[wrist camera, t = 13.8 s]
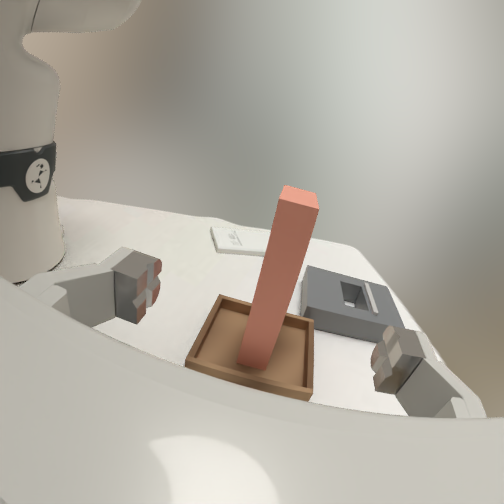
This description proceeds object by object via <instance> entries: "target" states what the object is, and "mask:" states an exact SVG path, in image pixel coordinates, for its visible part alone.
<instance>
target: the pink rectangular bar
mask: <svg viewBox="0 0 504 504" xmlns="http://www.w3.org/2000/svg"><path fill="white" fill-rule="evenodd" d="M318 211H319V206H318V201H317V196H316V193H313V192H309V191H305V190H302V189H298V188H295V187H291V186H287V185H284V188H283V190H282V192H281V195H280V198H279V201H278V205H277V210H276V213H275V217H274V221H273V225H272V229H271V233H270V237H269V241H268V245H267V248H266V252H265V256H264V260H263V264H262V268H261V272H260V276H259V279H258V283H257V287H256V291H255V295H254V298H253V302H252V306H251V310H250V314H249V317H248V321H247V325H246V329H245V332H244V336H243V340H242V344H241V347H240V351H239V355H238V359H237V362H236V363H238V364H242V365H246V366H249V367H253V368H257V369H261V370H264V371H265V370H266V368H267V365H268V362H269V360H270V357H271V354H272V351H273V349H274V346H275V343H276V340H277V338H278V335H279V332H280V329H281V326H282V323H283V321H284V318H285V315H286V312H287V309H288V306H289V303H290V300H291V297H292V294H293V291H294V288H295V285H296V282H297V279H298V276H299V273H300V270H301V267H302V264H303V261H304V257H305V254H306V251H307V248H308V245H309V241H310V238H311V235H312V232H313V228H314V225H315V222H316V218H317V215H318Z"/></svg>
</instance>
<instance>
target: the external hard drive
mask: <svg viewBox="0 0 504 504" xmlns="http://www.w3.org/2000/svg"><path fill="white" fill-rule="evenodd" d="M210 232H211V235H212V238H213V239H214V245H215V248H216V251H217V253H225V254H237V255H250V256H263V257H264V256H265V252H266V248H267V245H268V241H269V237H270V233H271V232H262V231H252V230H242V229H231V228H220V227H211V229H210Z"/></svg>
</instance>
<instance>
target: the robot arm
mask: <svg viewBox="0 0 504 504" xmlns="http://www.w3.org/2000/svg"><path fill="white" fill-rule="evenodd" d="M140 2H141V0H0V504H504V417H496V418H487V416H486V413H485V411H484V408H483V406H482V403H481V401H480V399H479V397H478V396H477V395H476V394H474V392H473V391H472V390H470V389H469V388H468V387H467V386H466V385H465V384H464V383H463V382H462V381H461V380H460V379H459V378H458V377H457V376H456V375H455V374H454V373H453V372H452V371H451V370H449V369H448V368H447V367H446V366H445V365H444V364H443V363H442V362H441V361H438V360H437V358H436V355H435V353H434V351H433V349H432V346H431V344H430V342H429V340H428V337H427V335H426V334H425V333H424V332H419V331H414V330H409V329H404V328H399V327H395V326H390V325H389V326H388V327H387V328H386V330H385V331H384V333H383V340H382V341H381V342H379V343H377V345H376V346H375V348H374V350H373V353H372V356H371V368H372V370H373V371H374V372H375V373H376V374H375V375H374V377H373V380H374V386H375V391H377V392H382V393H388V394H394V395H395V396H396V398H397V399H398V401H399V402H400V404H401V405H402V407H403V408H404V410H405V411H406V413H407V414H408V416H400V415H390V414H381V413H373V412H365V411H358V410H351V409H345V408H339V407H333V406H327V405H322V404H317V403H312V402H307V401H302V400H297V399H293V398H288V397H284V396H280V395H276V394H272V393H268V392H264V391H260V390H256V389H252V388H249V387H245V386H242V385H238V384H235V383H231V382H228V381H225V380H222V379H218V378H215V377H212V376H209V375H206V374H203V373H200V372H197V371H194V370H191V369H188V368H186V367H183V366H180V365H177V364H175V363H172V362H169V361H167V360H164V359H161V358H159V357H156V356H154V355H151V354H149V353H146V352H144V351H141V350H139V349H137V348H134V347H132V346H130V345H127V344H125V343H123V342H121V341H118V340H116V339H114V338H112V337H109V336H107V335H105V334H103V333H101V332H99V331H97V330H95V329H93V328H92V327H94V326H96V325H99V324H101V323H103V322H106V321H108V320H111V319H113V318H115V316H116V317H119V318H121V319H124V320H126V321H129V322H131V323H134V324H138V323H139V321H140V320H141V319H142V318H143V316H144V315H145V314H146V308H148V307H151V306H152V305H153V304H154V303H155V301H156V299H157V297H158V294H159V290H160V280H159V278H158V276H157V275H158V274H159V273H160V272H161V268H162V262H161V260H160V259H158V258H155V257H152V256H149V255H146V254H144V253H141V252H138V251H135V250H133V249H129V248H126V247H121V248H120V249H118V250H117V251H116V252H114V253H113V254H111V255H110V256H109V257H107V258H106V259H105V260H103V261H102V262H101V263H99V264H95V263H93V264H87V265H82V266H76V267H71V268H65V269H60V270H54V271H49V272H47V271H48V270H50V269H52V268H53V267H54V266H55V265H57V264H58V263H59V262H60V260H61V259H62V258H63V256H64V254H65V245H64V242H63V238H62V237H63V234H64V230H63V225H61V224H60V222H59V213H58V205H57V195H56V187H55V186H56V185H55V182H54V180H53V178H52V176H53V172H54V171H55V161H56V155H57V153H56V143H55V142H54V141H53V139H54V128H55V119H56V112H57V104H58V98H59V92H60V80H59V77H58V74H57V73H56V71H55V70H54V69H53V68H52V67H51V66H50V65H49V64H47V63H46V62H44V61H43V60H41V59H39V58H37V57H35V56H33V55H32V54H30V53H28V52H27V51H26V50H25V49H24V47H23V45H22V39H23V37H24V36H25V35H26V34H28V33H31V32H68V33H85V32H96V31H105V30H113V29H115V28H117V27H118V26H120V25H121V24H123V23H124V22H125V21H126V20H127V19H128V18H129V17H130V16H131V15H132V14H133V13H134V12H135V11H136V9H137V8H138V6H139V4H140ZM28 279H29V280H28ZM25 280H28V281H26V282H25V283H23V284H22V285H21V286H19V287H17V286H16V285H14V284H13V283H16V282H21V281H25Z"/></svg>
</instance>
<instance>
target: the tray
mask: <svg viewBox="0 0 504 504" xmlns="http://www.w3.org/2000/svg"><path fill="white" fill-rule="evenodd" d="M251 306H252V303H248V302H245V301H241V300H238V299H234V298H231V297H227V296H224V295H220V294H219V296H218V298H217V300H216V302H215V304H214V305H213V307H212V309H211V311H210V313H209V315H208V317H207V319H206V321H205V323H204V325H203V327H202V328H201V330H200V332H199V334H198V336H197V338H196V340H195V342H194V344H193V346H192V348H191V350H190V352H189V354H188V356H187V357H186V359H185V367H186V368H188V369H191V370H194V371H197V372H200V373H203V374H206V375H209V376H212V377H215V378H218V379H222V380H225V381H228V382H231V383H235V384H238V385H242V386H245V387H249V388H252V389H256V390H260V391H264V392H268V393H272V394H276V395H280V396H284V397H288V398H293V399H297V400H302V401H307V402H308V401H309V399H310V398H311V396H312V394H313V368H314V320H313V319H309V318H305V317H301V316H297V315H293V314H289V313H286V315H285V318H284V321H283V323H282V326H281V329H280V332H279V335H278V338H277V340H276V343H275V346H274V349H273V351H272V354H271V357H270V360H269V362H268V365H267V368H266V370H265V371H264V370H261V369H257V368H253V367H249V366H246V365H242V364H238V363H236V362H237V359H238V355H239V351H240V347H241V344H242V340H243V336H244V332H245V329H246V325H247V321H248V317H249V314H250V310H251Z"/></svg>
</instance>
